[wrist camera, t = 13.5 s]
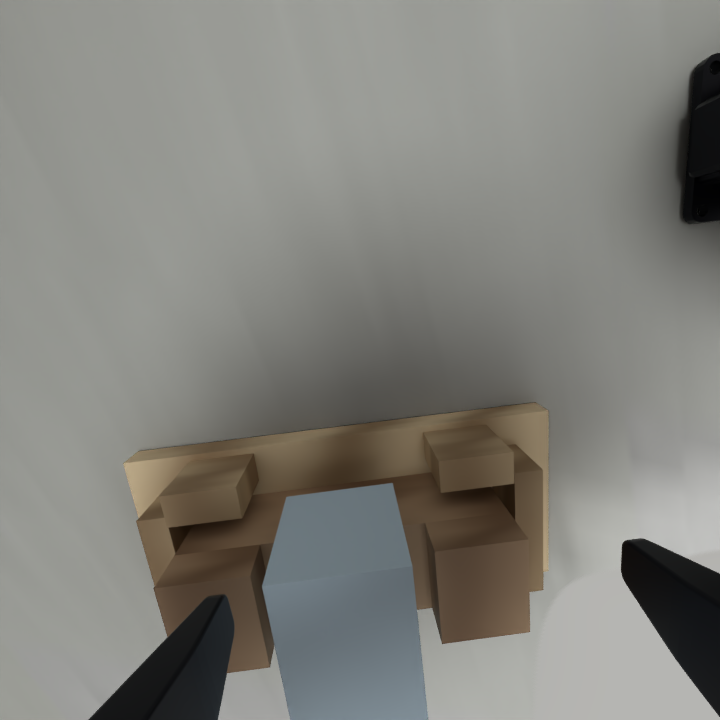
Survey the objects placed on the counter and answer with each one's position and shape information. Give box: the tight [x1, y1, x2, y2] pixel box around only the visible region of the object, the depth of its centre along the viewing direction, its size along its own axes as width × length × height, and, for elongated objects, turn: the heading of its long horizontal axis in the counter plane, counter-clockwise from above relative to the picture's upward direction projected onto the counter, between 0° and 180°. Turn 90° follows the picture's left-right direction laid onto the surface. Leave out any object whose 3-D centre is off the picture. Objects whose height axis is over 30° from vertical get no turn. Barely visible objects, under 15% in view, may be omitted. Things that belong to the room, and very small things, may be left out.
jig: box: [123, 402, 549, 592], centre depth 17 cm, size 20×9×4 cm, turn 97°
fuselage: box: [154, 472, 530, 673], centre depth 15 cm, size 13×4×5 cm, turn 97°
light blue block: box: [262, 483, 428, 720], centre depth 12 cm, size 4×8×4 cm, turn 7°
